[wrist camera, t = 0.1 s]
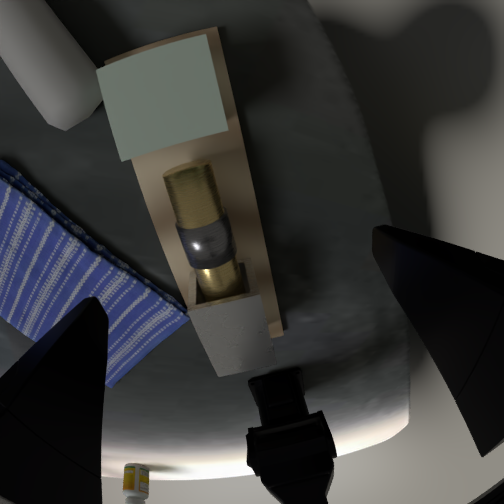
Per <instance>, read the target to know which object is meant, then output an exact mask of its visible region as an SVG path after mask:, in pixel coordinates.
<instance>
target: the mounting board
mask: <svg viewBox="0 0 504 504" xmlns="http://www.w3.org/2000/svg"><path fill="white" fill-rule="evenodd" d="M204 34H206V36H207V41H208V45H209V49H210V53H211V58H212V62H213V66H214V70H215V74H216V79H217V83H218V87H219V91H220V96H221V100H222V104H223V108H224V113H225V117H226V121H227V126H228V130H229V131H224V132H220V133H216V134H212V135H208V136H204V137H200V138H197V139H193V140H189V141H186V142H182V143H179V144H175V145H172V146H168V147H165V148H162V149H159V150H155V151H152V152H149V153H146V154H143V155H140V156H137V157H134V158H131V160H132V163H133V166H134V169H135V172H136V175H137V178H138V181H139V184H140V187H141V190H142V193H143V196H144V199H145V201H146V204H147V207H148V210H149V213H150V215H151V218H152V221H153V224H154V226H155V229H156V232H157V234H158V237H159V240H160V242H161V245H162V247H163V250H164V252H165V255H166V258H167V260H168V263H169V265H170V267H171V270H172V272H173V275H174V277H175V280H176V282H177V284H178V287H179V289H180V292H181V294H182V296H183V299H184V301H185V303H186V306H187V308H188V291H189V275H190V272H193V271H194V268H192V267H191V266H190V265H189V263H188V260H187V257H186V255H185V252H184V249H183V246H182V244H181V241H180V238H179V235H178V232H177V229H176V226H175V223H176V221H177V220H176V217H175V214H174V211H173V208H172V205H171V202H170V199H169V196H168V193H167V190H166V187H165V183H164V180H163V177H162V175H163V173H165V172H166V171H167V170H169V169H171V168H173V167H176V166H178V165H181V164H184V163H187V162H191V161H195V160H202V159H208V160H211V163H212V167H213V170H214V174H215V178H216V182H217V186H218V190H219V194H220V197H221V201H222V205H223V207H225V208H226V209H227V212H228V216H229V220H230V224H231V227H232V231H233V235H234V239H235V243H236V246H237V253H236V257H237V260H241V259H246V258H250V257H251V261H252V264H253V268H254V272H255V276H256V280H257V284H258V288H259V292H260V296H261V300H262V304H263V308H264V312H265V316H266V320H267V324H268V329H269V333H270V337H271V338H275V337H279V336H283V335H284V333H283V328H282V323H281V318H280V313H279V308H278V303H277V298H276V293H275V288H274V283H273V279H272V274H271V269H270V264H269V259H268V254H267V249H266V245H265V240H264V235H263V230H262V225H261V221H260V216H259V211H258V207H257V202H256V197H255V193H254V188H253V183H252V179H251V174H250V169H249V165H248V160H247V156H246V151H245V147H244V142H243V138H242V133H241V129H240V124H239V120H238V115H237V111H236V106H235V102H234V98H233V93H232V89H231V84H230V80H229V76H228V71H227V67H226V63H225V59H224V54H223V50H222V46H221V42H220V37H219V33H218V29H217V27H212V28H207V29H203V30H199V31H194V32H190V33H186V34H183V35H179V36H175V37H172V38H168V39H165V40H162V41H158V42H155V43H152V44H149V45H146V46H143V47H140V48H137V49H134V50H132V51H129V52H126V53H123V54H121V55H118V56H116V57H113V58H111V59H108V60H106V61H104V62H105V66H106V65H109V64H111V63H114V62H116V61H119V60H121V59H124V58H127V57H129V56H132V55H135V54H138V53H141V52H144V51H147V50H150V49H153V48H156V47H159V46H162V45H166V44H169V43H173V42H176V41H180V40H183V39H187V38H191V37H195V36H199V35H204Z"/></svg>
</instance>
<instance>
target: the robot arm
mask: <svg viewBox="0 0 504 504" xmlns="http://www.w3.org/2000/svg"><path fill="white" fill-rule="evenodd" d="M372 252H373V256H374V258H375V260H376V262H377V264H378V266H379V268H380V270H381V271H382V273H383V275H384V277H385V279H386V281H387V283H388V285H389V287H390V289H391V291H392V293H393V294H394V296H395V298H396V299H397V301H398V302H399V304H400V305H401V307H402V309H403V310H404V312H405V313H406V315H407V317H408V318H409V320H410V321H411V323H412V325H413V326H414V328H415V329H416V331H417V333H418V335H419V336H420V338H421V340H422V341H423V343H424V345H425V346H426V348H427V350H428V351H429V353H430V355H431V357H432V358H433V360H434V362H435V364H436V366H437V368H438V369H439V371H440V373H441V375H442V377H443V379H444V380H445V382H446V384H447V386H448V388H449V390H450V392H451V394H452V396H453V397H454V399H455V400H456V401H455V402H456V404H457V406H458V408H459V410H460V412H461V414H462V416H463V418H464V420H465V422H466V424H467V427H468V428H469V431H470V433H471V435H472V437H473V440H474V442H475V444H476V446H477V449H478V451H479V453H480V455H481V457H484V456H485V455H487V454H488V453H489V452H491V451H492V450H494V449H495V448H496V447H498V446H499V445H500V444H502V443H503V442H504V260H501V259H498V258H494V257H492V256H488V255H485V254H482V253H479V252H476V253H475V251H473V250H470V249H467V248H464V247H460V246H457V245H454V244H451V243H448V242H445V241H441V240H438V239H435V238H431V237H428V236H424V235H421V234H417V233H414V232H411V231H407V230H403V229H400V228H396V227H393V226H389V225H380V226H376V227H374V228H373V232H372ZM108 334H109V318H108V315H107V313H106V311H105V310H104V308H103V306H102V305H101V303H100V301H99V300H98V298H97V297H95V296H91V297H87V298H84V299H83V300H82V301H81V302H80V303H78V304H77V305H76V306H75V307H74V308H73V309H72V310H71V311H69V312H68V313H67V314H66V315H65V316H64V317H63V318H62V319H61V320H60V321H58V322H57V323H56V324H55V325H54V326H53V327H52V328H51V329H50V330H49V331H48V332H47V333H46V334H44V335H43V336H42V337H41V338H40V339H39V340H38V341H37V342H36V343H35V344H34V345H33V346H32V347H31V348H30V349H29V350H28V351H27V352H26V353H25V354H24V355H23V356H22V357H21V358H20V359H19V361H17V362H16V363H15V364H14V365H13V366H12V367H11V368H10V369H9V370H8V371H7V372H6V373H5V374H4V375H3V376H2V377H1V378H0V504H102V483H101V440H102V418H103V403H104V391H105V381H106V371H107V361H108ZM248 385H249V387H250V390H251V392H252V395H253V397H254V400H255V402H256V405H257V406H258V409H259V414H260V420H261V425H262V426H260V427H255V428H253V427H251V428H248V434H247V435H246V440H247V465H248V466H249V467H251V468H252V469H253V471H254V473H255V475H256V476H260V478H261V482H262V483H263V485H264V486H265V487H266V489H267V490H268V491H269V492H270V493H271V494H272V495H273V496H274V497H275V498H276V499H277V500H278V501H279V502H280V503H281V504H328V501H327V498H326V497H327V494H328V491H329V489H330V486H331V483H332V480H333V476H334V462H333V458H336V457H337V453H336V448H335V444H334V440H333V437H332V434H331V432H330V429H329V427H328V424H327V422H326V419H325V417H324V414H323V412H322V410H321V411H317V412H316V413H313V414H309V412H308V408H307V405H306V402H305V399H304V395H305V392H304V385H303V378H302V371H301V369H300V368H295V369H291V370H287V371H283V372H279V373H275V374H271V375H267V376H263V377H258V378H254V379H250V380H249V381H248ZM468 504H504V478H503V479H502V480H501V481H499V482H498V483H497V484H496V485H494V486H493V487H491V488H490V489H489V490H487V491H486V492H484V493H483V494H481V495H480V496H479V497H477V498H476V499H474V500H473V501H471V502H470V503H468Z"/></svg>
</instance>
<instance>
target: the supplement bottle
mask: <svg viewBox="0 0 504 504" xmlns="http://www.w3.org/2000/svg"><path fill="white" fill-rule="evenodd" d="M123 481H124V482H123V494H124V495H125V496H126V497H127V498H126V504H145V501H144V500H145V499H147V498H148V495H149V469H148V468H147V467H145V466H143V465H139V464H126V465H125V467H124V480H123Z"/></svg>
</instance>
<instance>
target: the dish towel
mask: <svg viewBox="0 0 504 504" xmlns="http://www.w3.org/2000/svg"><path fill="white" fill-rule="evenodd" d="M91 296H95V297H97V298H98V300H99V301H100V303H101V305H102V306H103V308H104V310H105V311H106V313H107V315H108V318H109V334H108V361H107V371H106V381H105V385H107V386H108V387H110V388H112V387H113V386H114V385H115V383H116V382H117V381H119V380H120V379H121V378H122V377H123V376H124V375H125V374H126V373H127V372H128V371H130V370H131V369H132V368H133V367H134V366H135V365H136V364H137V363H138V362H140V361H141V360H142V359H143V358H144V357H145V356H146V355H147V354H148V353H149V352H150V351H151V350H153V349H154V348H155V347H156V346H157V345H158V344H159V343H161V342H162V341H163V340H164V339H166V338H167V337H168V336H170V335H171V334H172V333H173V332H174V331H176V330H177V329H178V328H179V327H180V326H181V325H182V324H184V323H186V322H187V321H188V320H189V319H190V316H189V314H188V312H187V309H185V308H184V307H183V306H182V305H181V304H180V303H179V302H178V301H177V300H176V299H175V298H174V297H172V296H171V295H169V294H167V293H166V292H164V291H163V290H161V289H159V288H158V287H157V286H156V285H154V284H153V283H152V282H151V281H149V280H148V279H146V278H144V277H143V276H141V275H140V274H139V273H138V272H136V271H135V270H133V269H132V268H131V267H130V266H129V265H128V264H126V263H125V262H123V261H121V260H120V259H118V258H117V257H116V256H114V255H113V254H112V253H111V252H110V251H109V250H108V249H107V248H106V247H105V246H103V245H101V244H99V243H98V242H97V241H95V240H94V239H93V238H92V237H90V236H89V235H87V234H86V232H85V231H84V230H83V229H82V228H81V227H79V226H78V225H76V224H75V223H74V222H72V221H71V220H70V219H69V218H67V217H66V216H65V215H64V214H63V213H62V212H61V211H60V210H59V209H58V208H56V207H55V206H54V205H52V204H51V203H50V202H49V200H48V199H47V198H45V197H44V195H43V194H42V193H41V192H40V191H39V190H37V189H36V188H35V187H33V186H32V185H31V184H30V182H28V181H27V180H26V179H25V178H24V177H23V176H22V174H21V173H19V172H18V171H17V170H16V169H14V168H13V167H11V166H10V165H9V164H8V163H6V162H5V161H3V160H0V316H1V317H3V318H4V319H5V320H6V321H7V322H9V323H11V324H12V325H13V326H14V327H15V328H17V329H18V330H19V331H21V332H22V333H23V334H24V335H26V336H28V337H29V338H31V339H32V340H33V341H35V342H37V341H38V340H39V339H40V338H41V337H42V336H43V335H44V334H46V333H47V332H48V331H49V330H50V329H51V328H52V327H53V326H54V325H55V324H56V323H57V322H58V321H60V320H61V319H62V318H63V317H64V316H65V315H66V314H67V313H68V312H69V311H71V310H72V309H73V308H74V307H75V306H76V305H77V304H78V303H80V302H81V301H82V300H83V299H84V298H87V297H91Z"/></svg>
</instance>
